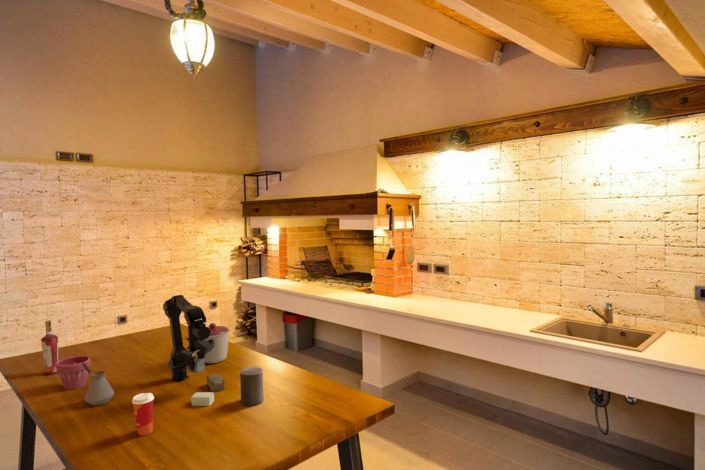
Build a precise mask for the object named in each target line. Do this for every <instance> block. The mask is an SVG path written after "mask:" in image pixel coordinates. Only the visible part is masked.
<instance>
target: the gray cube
mask: <svg viewBox="0 0 705 470" xmlns="http://www.w3.org/2000/svg"><path fill="white" fill-rule="evenodd" d="M187 367H188V372H189V373H194V374H199V373H200V372H203V371H204V370H206V363H205V359H203V358H198V357H196V358H195V359H194V370H191V368H190V367H189V365H188V366H187Z"/></svg>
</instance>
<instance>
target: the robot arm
mask: <svg viewBox="0 0 705 470" xmlns="http://www.w3.org/2000/svg"><path fill="white" fill-rule="evenodd" d="M170 297H171V298H169V299H167V300H165V301H164V302H163V304H162V310H163V311H164V315H165V316H166V317H167V318H168V320H169V327H170V335H171V341H172V348H171V352H170V358H169V360H168V363H167V365H168V369H169V370H171V378H169V381H173V382H183V381H184V380H186V379H188V378H189V377H190V376H189V375H188V373H187V367H188V368H189V367H190V368H191V370H194V359H195V358H203V359H204V358H205V355H206V353H208V352H210V351H212V348H214V346H215V345H214V344H215V343H214V340H213V339H210V340H209V341H208V340H207V341H205V340H204V339H207V338H208V337H209V336H210V329H209V328H208V327H209V326H207V325H206V323H207V316H206V315H205V312H204V310H203V309H202V308H201V307H200V306H198V305H193V304H192V303H191V302H189V301H188V300H187V299H186V298H185V296H184V295H183V294H177V295H172V296H170ZM182 313H183V317H184V319H185V322H186V325H187V333H188V337H186V341H188V346H187V347H185V346H184V343H183V342H184V341H183V334H182V328H181V320H180V319H181V318H180V317H181V315H182ZM194 353H196V355H195V354H194ZM188 365H189V366H188Z"/></svg>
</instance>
